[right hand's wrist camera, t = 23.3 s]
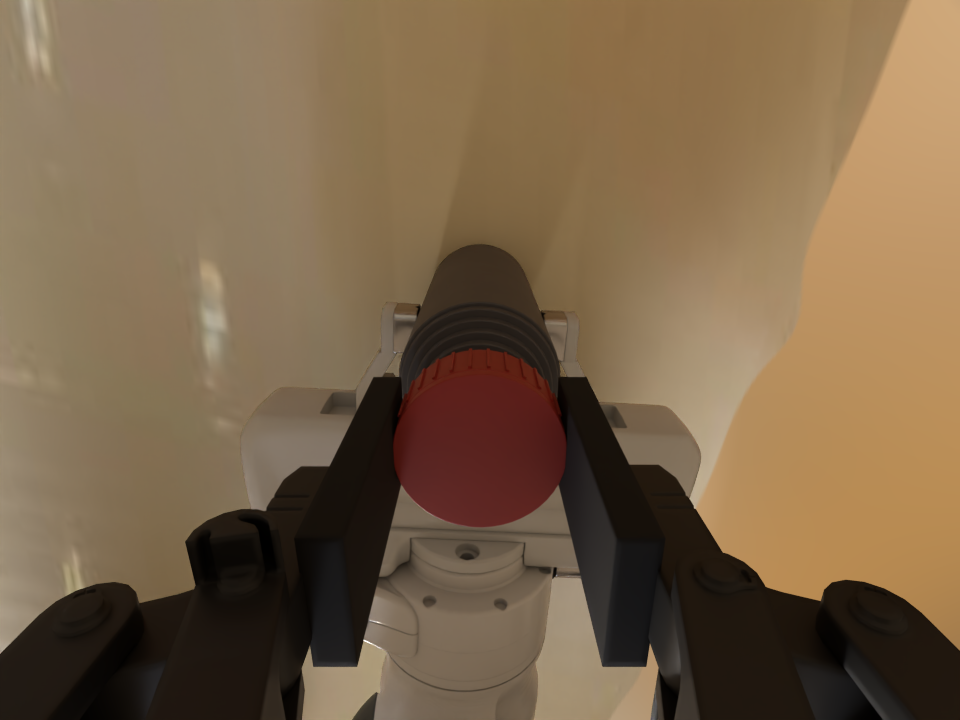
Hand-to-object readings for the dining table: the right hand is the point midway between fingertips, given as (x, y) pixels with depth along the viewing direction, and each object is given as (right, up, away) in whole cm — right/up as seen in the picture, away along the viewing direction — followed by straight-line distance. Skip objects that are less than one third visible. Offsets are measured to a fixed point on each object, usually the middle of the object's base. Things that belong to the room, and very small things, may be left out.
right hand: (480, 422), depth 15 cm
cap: (0, 0, -1) cm, 2 cm away
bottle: (0, +5, +14) cm, 15 cm away
